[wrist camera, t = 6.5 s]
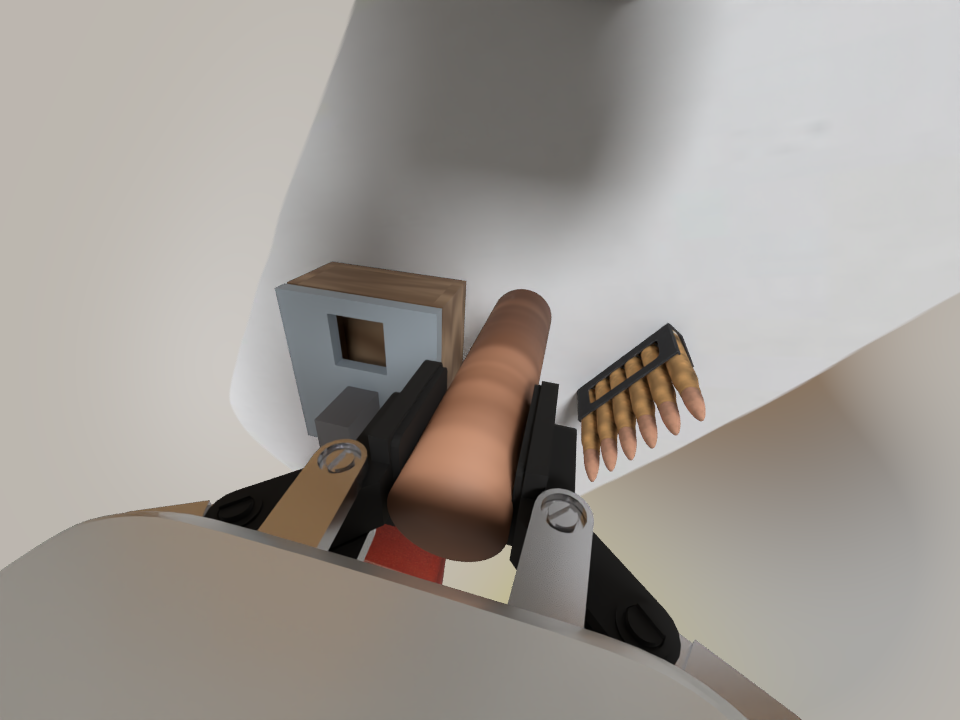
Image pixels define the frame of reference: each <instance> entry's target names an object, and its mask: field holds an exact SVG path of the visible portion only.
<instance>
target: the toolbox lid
mask: <svg viewBox="0 0 960 720" xmlns="http://www.w3.org/2000/svg"><path fill="white" fill-rule="evenodd" d="M275 291H276V296H277V300H278V304H279V309H280V313H281V317H282V322H283V326H284V331H285V335H286V339H287V344H288V348H289V352H290V357H291V361H292V365H293V370H294V374H295V379H296V383H297V387H298V392H299V396H300V400H301V405H302V409H303V413H304V418H305V422H306V427H307V431H308V435H310V436H314V437H318V440H319V445H320V447H322V446H324V445H325V444H327V443H329V442H332V441H335V440H340V439H352V440H356V439H357V438H358V437H359V435H360V434H361V433H362V431H363V430H364V429H365V428H366V426H367V425H368V424H369V422H370V421H371V420H372V419H373V417H374V416H375V415H376V414H377V412H378V411H379V410H380V408H381V407H382V406H383V405H384V403H385V402H386V401H387V399H388V398H389V397H390V396H391V395H392V394H393V393H394V392H401V391H402V390H403V388H404V387H405V386H406V384H407V383H408V382H409V380H410V379H411V378H412V376H413V375H414V374H415V372H416V371H417V370H418V368H419V367H420V366H421V364H422V363H423V362H424V361H425V360H432V361H437V362H441V352H442V309H441V308H435V307H429V306H422V305H416V304H410V303H404V302H397V301H391V300H385V299H379V298H372V297H366V296H360V295H354V294H347V293H341V292H335V291H329V290H322V289H316V288H310V287H303V286H297V285H291V284H283V285H280V286H278V287H276V288H275ZM336 315H339V316H345V317H351V318H356V319H362V320H368V321H374V322H380V323H383V328H384V341H385V354H386V367H383V366H377V365H372V364H367V363H362V362H357V361H352V360H347V359H342V352H341V345H340V338H339V332H338V325H337V318H336Z"/></svg>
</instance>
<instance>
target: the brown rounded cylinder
mask: <svg viewBox="0 0 960 720" xmlns="http://www.w3.org/2000/svg"><path fill="white" fill-rule="evenodd" d="M550 324H551V311H550V308H549V306H548V304H547V302H546V301H545V300H544V299H543V298H542V297H541V296H540V295H538V294H537V293H535V292H533V291H530V290H525V289H517V290H513V291H510V292H508V293H506V294H504V295H503V296H502V297H501V298H500V299H499V300H498V302H497V303H496V305H495V307H494V309H493V311H492V312H491V314H490V316H489V318H488V319H487V321H486V323H485V325H484V326H483V328H482V330H481V332H480V333H479V335H478V337H477V339H476V340H475V342H474V344H473V346H472V347H471V349H470V351H469V353H468V355H467V356H466V358H465V360H464V362H463V363H462V365H461V367H460V369H459V370H458V372H457V374H456V376H455V377H454V379H453V381H452V383H451V384H450V386H449V388H448V390H447V391H446V393H445V395H444V397H443V399H442V400H441V402H440V404H439V406H438V407H437V409H436V411H435V413H434V414H433V416H432V418H431V420H430V421H429V423H428V425H427V427H426V428H425V430H424V432H423V434H422V436H421V437H420V439H419V441H418V443H417V444H416V446H415V448H414V450H413V451H412V453H411V455H410V457H409V458H408V460H407V462H406V464H405V465H404V467H403V469H402V471H401V472H400V474H399V476H398V478H397V480H396V481H395V483H394V485H393V487H392V488H391V490H390V492H389V495H388V498H387V508H388V512H389V515H390V518H391V519H392V521H393V523H394V525H395V526H396V527H397V529H398V530H399V531H400V532H401V533H402V534H403V535H404V536H405V537H406V538H407V539H408V540H410V541H411V542H412V543H414V544H415V545H416V546H418V547H420V548H421V549H423V550H425V551H427V552H429V553H431V554H434V555H436V556H439V557H442V558H445V559H449V560H454V561H461V562H476V561H482V560H486V559H489V558H492V557H494V556H495V555H497V554H498V553H500V552H501V551H502V549H503V548H504V547H505V545H506V543H507V540H508V536H509V531H510V526H511V521H512V516H513V504H512V495H513V489H514V483H515V477H516V471H517V466H518V461H519V456H520V452H521V447H522V442H523V438H524V433H525V428H526V424H527V419H528V414H529V410H530V405H531V400H532V396H533V391H534V386H535V384H537V385H539V380H540V375H541V370H542V364H543V359H544V354H545V349H546V344H547V339H548V334H549V329H550Z"/></svg>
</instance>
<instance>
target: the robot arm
mask: <svg viewBox="0 0 960 720" xmlns="http://www.w3.org/2000/svg"><path fill="white" fill-rule="evenodd" d="M447 373H448V371H447V368H446V367H443V364H442V362H437V361H432V360H425V361H424V362H423V363H422V364H421V366H420V367H419V368H418V370H417V371H416V372H415V374H414V375H413V376H412V378H411V379H410V380H409V382H408V383H407V384H406V386H405V387H404V388H403V390H402V391H401V392H394V393H393V394H392V395H391V396H390V397H389V398H388V399H387V401H386V402H385V403H384V405H383V406H382V407H381V408H380V410H379V411H378V412H377V414H376V415H375V416H374V417H373V419H372V420H371V421H370V422H369V424H368V425H367V426H366V428H365V429H364V430H363V431H362V433H361V434H360V435H359V437H358V438H357V439H356V440H352V439H340V440H335V441H332V442H329V443H327V444H325V445H324V446H322V447H320V448H319V449H318V450H317V451H316V452H315V453H314V455H313V456H312V457H311V459H310V460H309V462H308V463H307V464H306V466H305V467H304V468H303V469H300V470H297V471H294V472H291V473H288V474H285V475H282V476H279V477H276V478H273V479H270V480H267V481H264V482H261V483H258V484H255V485H252V486H249V487H245V488H242V489H240V490H236V491H234V492H232V493H229V494H227V495H225V496H224V497H222V498H221V499H219V500H217V501H216V502H215V503H214V504H211V503H210V501H209V500H208V501H200V502H193V503H186V504H180V505H172V506H165V507H158V508H151V509H143V510H136V511H130V512H126V513H120V514H113V515H107V516H102V517H98V518H94V519H90V520H87V521H85V522H82V523H79V524H76V525H74V526H72V527H70V528H68V529H66V530H64V531H62V532H60V533H58V534H57V535H55V536H53V537H51V538H50V539H48V540H46V541H45V542H43V543H42V544H40V545H38V546H37V547H35V548H34V549H32V550H31V551H29V552H28V553H26V554H25V555H23V556H21V557H20V558H19V559H17V560H15V561H14V562H12V563H11V564H9V565H8V566H6V567H5V568H4V569H2V570H1V571H0V720H801V719H800V718H799V717H798V716H797V715H796V714H794V713H793V712H792V711H790V710H789V709H788V708H786V707H785V706H784V705H782V704H781V703H779V702H778V701H777V700H776V699H774V698H773V697H771V696H770V695H769V694H768V693H766V692H765V691H764V690H762V689H761V688H760V687H758V686H757V685H756V684H754V683H753V682H752V681H750V680H749V679H748V678H746V677H745V676H744V675H742V674H741V673H739V672H738V671H737V670H736V669H734V668H733V667H731V666H730V665H729V664H727V663H726V662H725V661H723V660H722V659H721V658H719V657H718V656H717V655H715V654H714V653H713V652H711V651H710V650H709V649H707V648H706V647H704V646H703V645H702V644H700V643H699V642H698V641H697V640H694V642H693V643H691V642H690V641H689V640H687V639H686V638H685V637H683V636H682V635H681V634H679V632H678V630H677V628H676V626H675V624H674V621H673V620H672V618H671V617H670V616H669V614H668V613H667V612H666V610H665V609H664V608H663V607H662V606H661V605H660V604H659V603H658V602H657V600H656V599H655V598H654V597H653V596H652V595H651V594H650V593H649V592H648V591H647V590H646V589H645V587H644V586H643V585H642V584H641V583H640V582H639V581H638V580H637V579H636V578H635V577H634V575H632V573H631V572H630V571H629V570H628V569H627V568H626V567H625V566H624V565H623V564H622V562H621V561H620V560H619V559H618V558H617V557H616V556H615V555H614V554H613V553H612V552H611V551H610V549H609V548H608V547H607V546H606V545H605V544H604V543H603V542H602V541H601V540H600V539H599V538H598V536H597V535H596V534H595V533H594V532H593V525H594V519H593V513H592V511H591V509H590V506H589V505H588V504H587V503H586V502H585V500H584V499H583V498H581V497H580V496H579V495H577V494H576V493H575V472H576V440H577V430H576V429H575V428H570V427H566V426H561V425H556V424H555V415H556V406H557V397H558V389H559V384H555V383H550V382H545V381H542V385H537V384H535V386H534V391H533V396H532V400H531V405H530V410H529V414H528V419H527V424H526V428H525V433H524V438H523V442H522V447H521V452H520V456H519V461H518V466H517V471H516V477H515V483H514V489H513V495H512V504H513V516H512V521H511V526H510V531H509V536H508V540H507V543H506V544H507V545H510V546H512V549H511V555H510V561H511V562H512V564H513V566H514V567H515V568H516V570H517V571H516V575H515V579H514V582H513V586H512V590H511V594H510V598H509V601H508V605H507V604H504V603H501V602H497V601H494V600H491V599H487V598H484V597H481V596H477V595H474V594H470V593H467V592H464V591H461V590H457V589H454V588H451V587H447V586H444V585H441V584H437V583H434V582H431V581H427V580H424V579H421V578H417V577H414V576H410V575H407V574H404V573H400V572H397V571H394V570H390V569H387V568H383V567H380V566H377V565H373V564H370V563H366V562H363V561H364V559H365V557H366V554H367V552H368V550H369V547H370V545H371V543H372V541H373V538H374V536H375V532H376V529H377V528H379V527H381V526H384V524H387V525H391V526H394V527H395V525H394V523H393V521H392V519H391V518H390V515H389V512H388V508H387V498H388V495H389V492H390V490H391V488H392V487H393V485H394V483H395V481H396V480H397V478H398V476H399V474H400V472H401V471H402V469H403V467H404V465H405V464H406V462H407V460H408V458H409V457H410V455H411V453H412V451H413V450H414V448H415V446H416V444H417V443H418V441H419V439H420V437H421V436H422V434H423V432H424V430H425V428H426V427H427V425H428V423H429V421H430V420H431V418H432V416H433V414H434V413H435V411H436V409H437V407H438V406H439V404H440V402H441V400H442V399H443V397H444V395H445V393H446V391H447Z"/></svg>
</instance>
